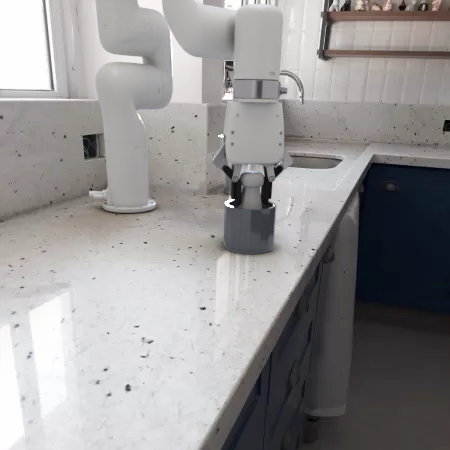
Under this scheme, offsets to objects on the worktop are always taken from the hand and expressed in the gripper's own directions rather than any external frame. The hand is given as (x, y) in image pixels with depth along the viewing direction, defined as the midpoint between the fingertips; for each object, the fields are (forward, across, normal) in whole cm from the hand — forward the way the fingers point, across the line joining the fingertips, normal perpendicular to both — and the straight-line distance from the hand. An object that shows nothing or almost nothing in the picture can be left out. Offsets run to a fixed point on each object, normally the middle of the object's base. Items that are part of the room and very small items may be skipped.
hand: (250, 202), depth 86 cm
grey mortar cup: (+8, 0, 0) cm, 8 cm away
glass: (+8, -8, -51) cm, 52 cm away
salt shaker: (+8, 0, 0) cm, 8 cm away
